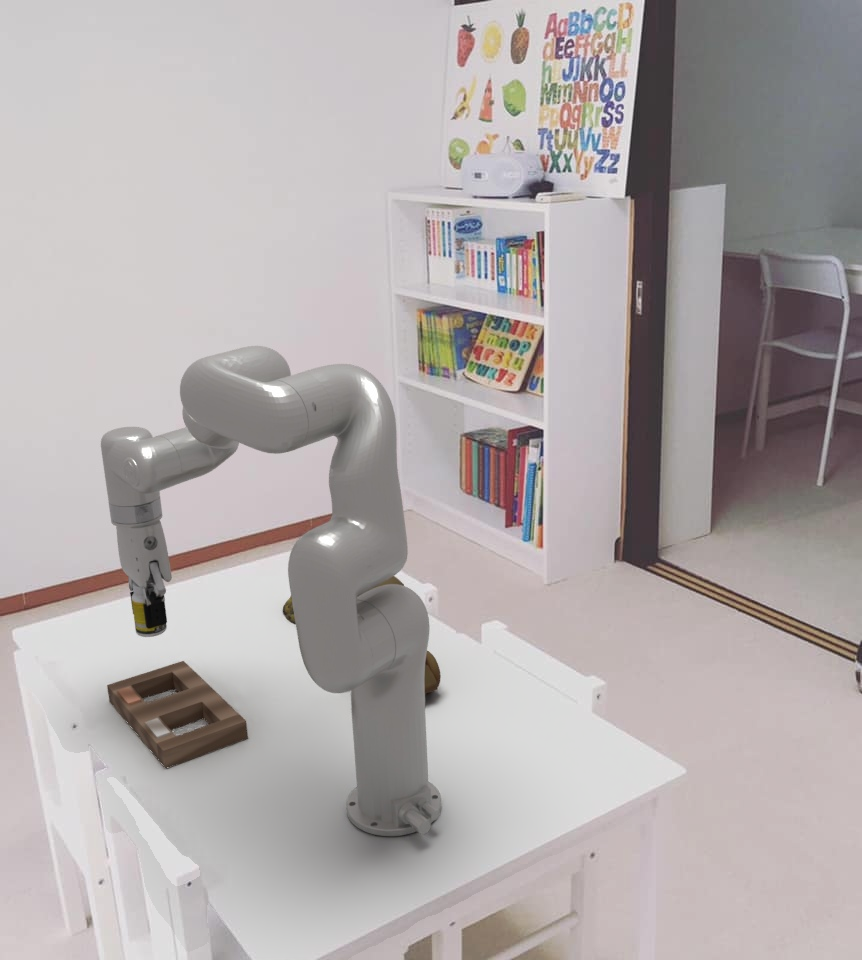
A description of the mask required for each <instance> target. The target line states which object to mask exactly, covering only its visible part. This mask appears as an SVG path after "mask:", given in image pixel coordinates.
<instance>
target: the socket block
mask: <svg viewBox="0 0 862 960" xmlns="http://www.w3.org/2000/svg"><path fill="white" fill-rule="evenodd" d="M106 687H107V693H108V694H107V695H108V701H109V703H110V704H111V705H112V707H113V708H114V709H115V710H116V712H117V713H118V714H119V715H120V716H121V717H122V719H123V720H124V719H125V720H126V721H127V722H128V723H127V722H126V721H125V720H124V721H125V722H126V723H127V724H128V726H129V725H130V726H131V727H132V728H133V729H132V728H131V727H130V726H129V727H130V728H131V729H132V730H133V732H134V731H135V732H136V733H137V734H138V735H139V736H138V735H137V734H136V733H135V732H134V733H135V734H136V735H137V736H138V738H139V737H140V738H141V739H142V740H143V741H144V742H143V741H142V740H141V739H140V738H139V739H140V740H141V741H142V742H143V744H144V743H145V744H146V745H147V746H148V747H149V748H148V747H147V746H146V745H145V744H144V745H145V746H146V747H147V748H148V750H149V749H150V750H151V751H152V752H153V753H152V752H151V751H150V750H149V751H150V752H151V753H152V755H153V756H154V755H155V756H156V757H157V758H156V757H155V756H154V757H155V758H156V759H157V760H158V759H159V760H158V762H159V761H160V762H161V763H162V764H163V765H164V766H163V765H162V764H161V763H160V762H159V763H160V764H161V765H162V766H163V768H164V767H165V768H167V767H170V766H172V765H175V766H177V765H176V764H178V765H180V764H183V763H186V762H189V761H192V760H193V759H196V758H199V757H201V756H204V755H207V754H210V753H212V752H215V751H219V750H221V749H223V748H226V747H229V746H231V745H234V744H237V743H239V742H242V741H245V740H248V739H249V735H248V725H247V720H246V719H245V718H244V717H243V716H242V715H241V714H240V713H239V712H237V710H236V709H234V707H232V706H231V704H229V703H228V702H227V701H226V700H225V699H224V698H223V697H222V696H221V695H220V694H219V693H218V692H217V691H216V690H215V689H214V688H213V687H212V686H211V685H209V684H208V683H207V681H205V679H203V678H202V677H201V676H200V675H199V673H197V672H196V671H195V670H194V669H193V668H192V667H190V666H189V664H188V663H186V662H185V660H182V661H178V662H175V663H172V664H169V665H165V666H163V667H160V668H159V667H158V668H155V669H153V670H150V671H147V672H143V673H140V674H138V675H135V676H131V677H129V678H128V677H127V678H125V679H122V680H119V681H116V682H112V683H110V684H107V685H106ZM172 689H175V691H176V692H175V693H172V694H170V695H167V696H165V697H160V698H158V699H155V700H151V701H148V702H147V701H145V699H146V698H149V697H152V696H155V695H157V694H160V693H164V692H168V691H170V690H172ZM163 691H164V692H163ZM148 696H149V697H148ZM200 720H204V721H206V723H207V725H205V726H201V727H198V728H196V729H192V730H190V731H187V732H184V733H181V734H178V735H176V734H175V733H174V732H173V731H172V730H176V729H179V728H181V727H185V726H186V725H189V724H192V723H193V724H194V723H195V722H199V721H200ZM182 762H183V763H182ZM172 767H173V766H172ZM165 768H164V769H165ZM170 768H171V767H170ZM167 769H168V768H167Z"/></svg>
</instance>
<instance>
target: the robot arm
mask: <svg viewBox="0 0 862 960" xmlns="http://www.w3.org/2000/svg"><path fill="white" fill-rule="evenodd" d="M179 397H180V401H181V405H182V413H181V414H182V419H183V423H184V426H185V427H183V428H178V429H176V430H172V431H169V432H166V433H162V434H159V435H155V436H153V435H152V433H151V432H150V431H149V430H148V429H147V428H144V427H140V426H125V427H119V428H115V429H111V430H109V431H107V432H105V433H104V434H103V435H102V437H101V438H100V439H101V440H100V448H101V451H100V452H101V457H102V464H103V465H102V466H103V470H104V472H103V473H104V478H105V480H104V481H105V486H106V492H107V499H108V508H109V515H110V521H111V524H112V525H113V526H115V527H116V542H117V549H118V557H119V562H120V567H121V569H122V572H124V574H125V575H126V576H127V578H128V588H129V590H130V592H129V594H130V595H129V597H130V601H131V609H132V611H133V605H132V595H133V594H134V592H133V585H132V583H133V582H135V583H136V584H137V585H139V586H140V587H142V590H143V595H144V600H145V604H143V608H144V616H145V623H146V627H147V628H148V629H150V628H154V627H157V626H161V625H164V624H166V625H167V623H168V621H167V620H168V617H167V610H166V603H165V601H166V599H165V594H167V588H166V586H165V583H164V581H165V582H166V583H170V582H171V581H172V578H173V576H172V569H171V563H170V557H169V551H168V545H167V542H166V538H165V533H164V528H163V525H162V523H161V519H162V518H163V509H162V500H161V492H160V491H163V490H166V489H168V488H169V489H170V488H172V487H174V486H176V485H180V484H181V483H182V484H183V483H184V482H185V483H186V482H189V481H191V480H194V479H196V478H200V477H202V476H205V475H207V474H209V473H210V472H212V471H214V470H216V469H217V468H218V467H219V466H220V465H222V464H223V463H224V462H226V461H227V460H228V459H229V458H230V457H232V456H233V455H234V454H235V453H236V452H237V451H238V449H239V445H240V444H242V445H244V446H246V447H249V448H251V449H254V450H256V451H259V452H262V453H267V454H275V455H276V454H280V455H281V454H284V453H289V452H293V451H295V450H298V449H301V448H303V447H306V446H309V445H311V444H315V443H317V442H320V441H322V440H325V439H327V438H330V437H332V436H334V437H335V438H336V440H337V442H336V446H335V449H334V451H333V454H332V457H331V461H330V465H329V470H328V471H329V473H328V487H329V492H330V497H331V498H330V500H331V518H330V519H329V521H327V522H324V523H322V524H320V525H318V526H316V527H314V528H312V529H310V530H308V531H307V532H305V533H304V534H302V535H300V537H298V539H297V540H296V542H295V543H294V544H293V546H292V548H291V551H290V552H289V553H290V554H289V558H288V564H287V566H288V567H287V575H288V583H289V584H288V585H289V590H290V596H291V598H292V604H293V610H294V616H295V623H296V624H295V628H296V635H297V639H298V646H299V651H300V655H301V658H302V662H303V665H304V667H305V670H306V671H307V673H308V675H309V676H310V678H311V679H312V681H313V682H314V683H315V685H317V686H318V687H319V688H321V689H322V690H324V691H325V692H328V693H332V694H343V693H348V692H350V706H351V709H350V710H351V721H352V723H351V724H352V736H353V750H354V751H353V752H354V763H355V764H354V765H355V779H356V787H355V788H353V790H352V791H351V792H350V793H349V795H348V797H347V799H346V803H345V805H346V813H347V814H346V815H347V816H348V819H349V821H350V822H351V824H352V825H354V826H355V827H357V828H358V829H359V830H361V831H363V832H365V833H368V834H371V835H374V836H375V835H376V836H381V837H397V836H398V837H401V836H404V835H405V836H407V835H410V834H413V833H416V832H417V833H418V834H420V835H425V834H427V833H428V832H429V831H430V829H431V827H432V823H433V822H434V821H436V820H439V818H440V813H441V808H442V797H441V793H440V792H439V790H438V788H437V787H436V786H435V785H434V784H433V783H431V782H430V781H429V767H428V766H429V765H428V764H429V763H428V746H427V744H428V742H427V722H426V721H427V720H426V718H427V717H426V694H425V683H424V676H425V661H426V654H427V651H428V648H429V647H428V646H429V639H430V638H429V637H430V626H431V625H430V617H429V613H428V610H427V607H426V605H425V603H424V601H423V600H422V598H421V597H420V595H418V593H416V591H415V590H413V589H411V588H410V587H408V586H406V585H404V586H402V585H398V584H388V585H383V586H379V587H376V588H374V587H375V586H377V585H379V584H381V583H383V582H384V581H386V580H388V579H390V578H391V577H393V576H396V575H398V573H400V572H401V570H403V568H404V567H405V565H406V563H407V560H408V553H409V552H408V551H409V550H408V537H407V530H406V523H405V514H404V507H403V499H402V497H403V496H402V492H401V491H402V490H401V485H400V484H401V483H400V479H399V472H398V471H399V469H398V456H397V455H398V453H397V450H398V448H397V444H398V443H397V440H398V439H397V438H398V436H397V435H398V434H397V420H396V415H395V411H394V406H393V402H392V400H391V398H390V396H389V394H388V391H387V390H386V388H385V387H384V385H383V384H382V383H381V382H380V380H379V379H378V378H377V377H376V376H375V375H374V374H372V373H371V372H370V371H368V370H367V369H365V368H363V367H361V366H358V365H355V364H354V365H353V364H350V363H349V364H348V363H335V364H327V365H323V366H319V367H314V368H311V369H308V370H305V371H302V372H297V373H296V374H292V373H291V368H290V366H289V364H288V362H287V360H286V359H285V357H284V356H282V354H280V353H279V352H278V351H277V350H274V349H273V348H270V347H267V346H263V345H250V346H245V347H239V348H237V349H236V348H235V349H232V350H228V351H224V352H220V353H216V354H211V355H207V356H204V357H201V358H199V359H196V360H195V361H194V362H192V363H191V364H190V365H189V366H188V367H187V368H186V370H185V372H184V373H183V375H182V378H181V379H180V384H179ZM148 580H152V583H149V584H147V583H146V581H148ZM153 587H154V591H152V592H151V593H150V595H149V591H148V589H149V588H153ZM372 588H374V589H372ZM370 589H371V590H370ZM368 590H369V591H368ZM366 591H367V592H366ZM364 592H365V593H364ZM361 594H362V595H361ZM359 595H360V596H359ZM357 596H358V597H357ZM132 615H134V613H133V612H132Z"/></svg>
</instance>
